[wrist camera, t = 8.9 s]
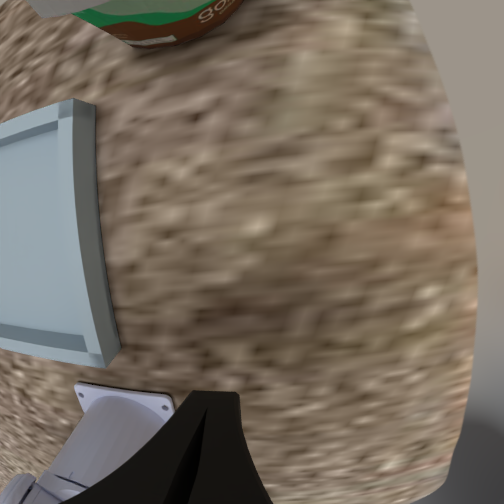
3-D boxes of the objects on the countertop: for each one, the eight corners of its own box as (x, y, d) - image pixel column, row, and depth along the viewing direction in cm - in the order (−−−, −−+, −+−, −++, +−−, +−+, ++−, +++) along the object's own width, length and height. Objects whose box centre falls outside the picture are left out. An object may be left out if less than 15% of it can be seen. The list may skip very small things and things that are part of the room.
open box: (121, 348, 19) (106, 368, 16) (-9, 328, 19) (-26, 340, 17) (95, 105, 15) (73, 98, 13) (-35, 150, 16) (-56, 151, 13)
